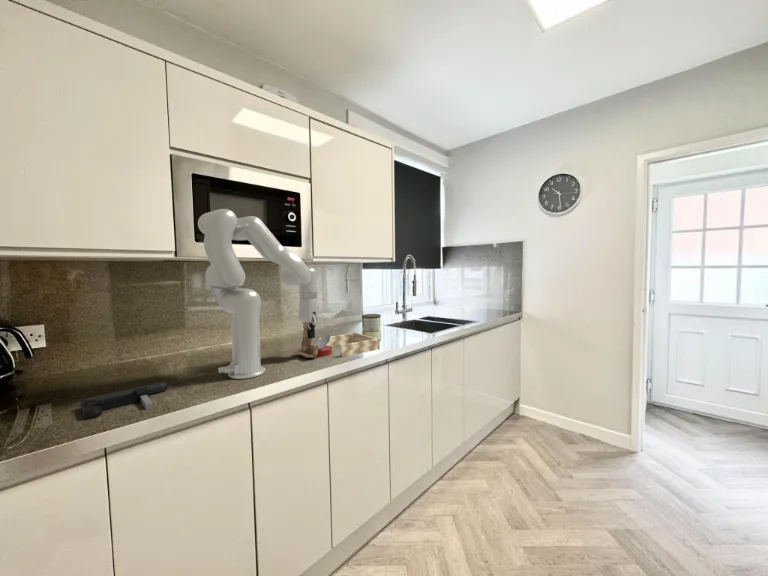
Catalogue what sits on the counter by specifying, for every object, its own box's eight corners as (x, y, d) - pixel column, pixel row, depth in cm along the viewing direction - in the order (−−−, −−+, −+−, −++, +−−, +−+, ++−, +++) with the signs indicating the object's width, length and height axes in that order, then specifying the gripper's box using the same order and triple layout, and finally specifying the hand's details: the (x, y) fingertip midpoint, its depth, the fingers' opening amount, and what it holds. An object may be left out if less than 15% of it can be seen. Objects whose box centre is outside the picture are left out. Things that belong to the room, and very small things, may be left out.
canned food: (328, 366, 143) (327, 349, 138) (307, 363, 144) (304, 346, 139) (336, 349, 152) (335, 333, 147) (316, 346, 154) (314, 330, 149)
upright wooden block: (306, 357, 135) (310, 324, 136) (294, 352, 144) (297, 321, 145) (317, 357, 138) (320, 324, 139) (304, 352, 147) (308, 321, 148)
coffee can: (358, 340, 175) (358, 314, 174) (374, 338, 181) (374, 313, 180) (368, 343, 166) (368, 316, 166) (385, 341, 172) (384, 315, 171)
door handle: (177, 394, 93) (163, 379, 104) (83, 417, 79) (79, 397, 90) (177, 405, 94) (164, 389, 105) (84, 430, 79) (79, 408, 90)
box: (342, 356, 141) (342, 345, 140) (318, 348, 157) (318, 338, 157) (379, 348, 154) (379, 338, 154) (354, 342, 171) (354, 332, 170)
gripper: (292, 295, 145) (293, 336, 146) (309, 297, 133) (310, 341, 133) (307, 295, 150) (308, 333, 151) (325, 296, 137) (326, 338, 138)
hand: (309, 337), depth 142 cm, fingers closed on upright wooden block, 3 cm apart
